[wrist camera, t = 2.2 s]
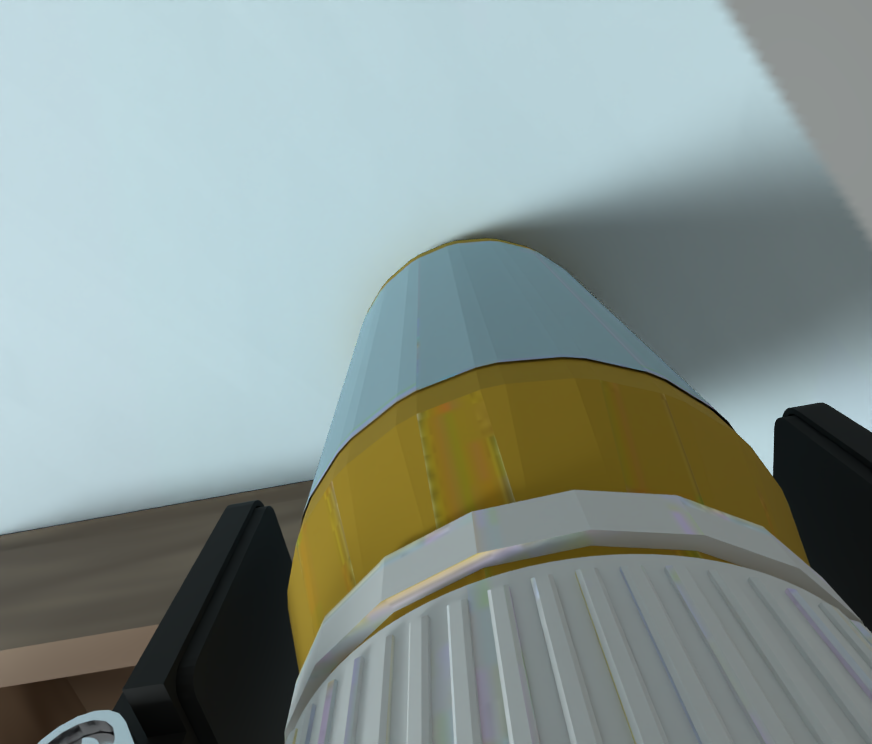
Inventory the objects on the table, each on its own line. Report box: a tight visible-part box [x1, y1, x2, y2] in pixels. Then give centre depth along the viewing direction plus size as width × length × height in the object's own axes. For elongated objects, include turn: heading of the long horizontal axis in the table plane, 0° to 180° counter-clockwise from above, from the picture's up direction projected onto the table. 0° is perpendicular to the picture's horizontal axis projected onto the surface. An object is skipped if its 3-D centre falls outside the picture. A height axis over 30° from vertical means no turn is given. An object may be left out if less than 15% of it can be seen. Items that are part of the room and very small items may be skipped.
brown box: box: [0, 480, 314, 744], centre depth 19 cm, size 13×15×6 cm
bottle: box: [285, 238, 872, 744], centre depth 11 cm, size 7×7×15 cm
